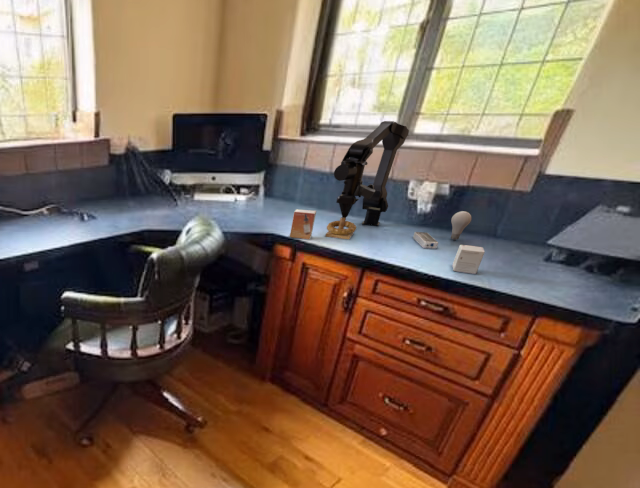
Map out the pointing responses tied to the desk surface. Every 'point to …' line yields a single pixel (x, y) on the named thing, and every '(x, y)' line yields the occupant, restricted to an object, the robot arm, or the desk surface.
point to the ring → (337, 231)
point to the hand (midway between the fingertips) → (344, 217)
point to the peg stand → (341, 226)
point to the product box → (468, 259)
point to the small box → (302, 224)
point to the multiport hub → (425, 240)
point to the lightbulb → (459, 223)
